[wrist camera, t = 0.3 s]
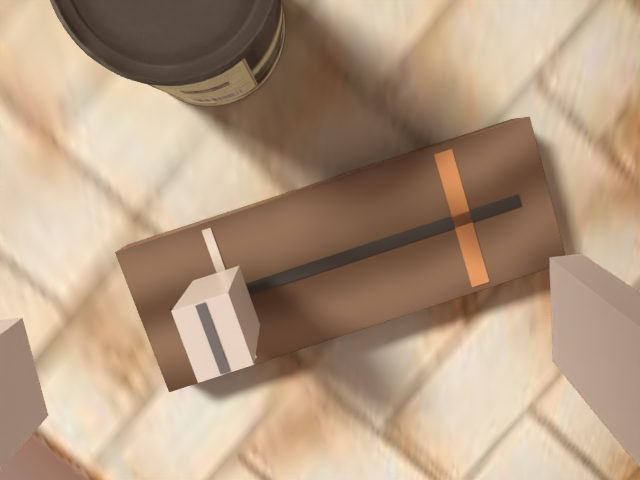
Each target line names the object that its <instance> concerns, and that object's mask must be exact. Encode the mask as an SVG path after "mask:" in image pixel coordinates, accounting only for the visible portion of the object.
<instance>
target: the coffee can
mask: <svg viewBox="0 0 640 480" xmlns="http://www.w3.org/2000/svg"><path fill="white" fill-rule="evenodd" d="M50 2H51V4H52V6H53V9H54V11H55V13H56V15H57V17H58V19H59V20H60V22H61V23H62V25H63V27H64V28H65V30H66V31H67V33H68V34H69V35H70V37H71V38H72V39H73V40H74V42H75V43H76V44H77V45H78V46H79V47H80V48H81V49H82V50H83V51H84V52H85V53H86V54H87V55H88V56H90V57H91V58H92V59H94V60H95V61H96V62H98V63H99V64H101V65H102V66H104V67H105V68H107V69H108V70H110V71H112V72H114V73H116V74H118V75H120V76H122V77H125V78H127V79H131V80H134V81H137V82H141V83H144V84H148V85H150V86H152V87H154V88H157V89H159V90H162V91H164V92H166V93H168V94H169V95H171V96H173V97H175V98H177V99H179V100H181V101H184V102H187V103H190V104H194V105H200V106H218V105H225V104H228V103H232V102H235V101H238V100H240V99H242V98H244V97H246V96H248V95H249V94H251V93H252V92H254V91H255V90H257V89H258V88H259V87H260V86H261V85H262V84H263V83H264V82H265V81H266V80H267V78H268V77H269V76H270V74H271V73H272V71H273V70H274V68H275V66H276V64H277V62H278V60H279V58H280V55H281V52H282V48H283V43H284V38H285V20H284V13H283V7H282V0H50Z"/></svg>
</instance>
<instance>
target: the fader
mask: <svg viewBox="0 0 640 480" xmlns="http://www.w3.org/2000/svg"><path fill="white" fill-rule="evenodd" d="M171 312H172V315H173V318H174V320H175V323H176V326H177V328H178V331H179V334H180V336H181V339H182V342H183V344H184V347H185V350H186V352H187V355H188V358H189V360H190V363H191V366H192V368H193V371H194V373H195V376H196V379H197V381H198V383H200V382H203V381H206V380H209V379H212V378H215V377H218V376H221V375H224V374H227V373H230V372H233V371H236V370H239V369H242V368H246V367H249V366H252V365H254V360H255V354H256V348H257V341H258V335H259V329H260V323H259V320H258V318H257V315H256V312H255V309H254V306H253V303H252V301H251V298H250V295H249V292H248V289H247V286H246V284H245V281H244V278H243V275H242V272H241V269H240V267H239V266H236V267H233V268H230V269H227V270H224V271H221V272H218V273H215V274H212V275H209V276H206V277H203V278H200V279H197V280H194V281H192V283H191V284H190V285H189V287H188V288H187V290H186V291H185V292H184V294H183V295H182V297H181V298H180V299H179V301H178V302H177V304H176V305H175V306H174V308H173V309H172V311H171Z"/></svg>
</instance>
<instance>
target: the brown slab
mask: <svg viewBox="0 0 640 480" xmlns="http://www.w3.org/2000/svg"><path fill="white" fill-rule="evenodd" d="M115 253H116V256H117V258H118V261H119V264H120V266H121V269H122V271H123V274H124V277H125V279H126V282H127V284H128V287H129V290H130V292H131V295H132V297H133V300H134V302H135V305H136V308H137V310H138V313H139V315H140V318H141V321H142V323H143V326H144V328H145V331H146V333H147V336H148V339H149V341H150V344H151V346H152V349H153V352H154V354H155V357H156V359H157V362H158V365H159V367H160V370H161V372H162V375H163V377H164V380H165V383H166V385H167V388H168V390H169V392H172V391H175V390H178V389H181V388H184V387H187V386H190V385H193V384H196V383H198V381H197V379H196V376H195V373H194V371H193V368H192V366H191V363H190V360H189V358H188V355H187V352H186V350H185V347H184V344H183V342H182V339H181V336H180V334H179V331H178V328H177V326H176V323H175V320H174V318H173V315H172V312H171V311H172V309H173V308H174V306H175V305H176V304H177V302H178V301H179V299H180V298H181V297H182V295H183V294H184V292H185V291H186V290H187V288H188V287H189V285H190V284H191V283H192V281H194V280H197V279H200V278H203V277H206V276H209V275H212V274H215V273H218V272H221V271H224V270H227V269H230V268H233V267H236V266H239V267H240V269H241V272H242V275H243V278H244V281H245V284H246V286H247V289H248V292H249V295H250V298H251V301H252V303H253V306H254V309H255V312H256V315H257V318H258V320H259V323H260V329H259V335H258V341H257V348H256V354H255V360H254V364H257V363H260V362H263V361H266V360H269V359H272V358H275V357H278V356H281V355H284V354H288V353H291V352H294V351H297V350H300V349H303V348H306V347H309V346H312V345H315V344H318V343H321V342H324V341H327V340H330V339H333V338H336V337H339V336H342V335H345V334H349V333H352V332H355V331H358V330H361V329H364V328H367V327H370V326H373V325H376V324H379V323H382V322H385V321H388V320H391V319H394V318H397V317H400V316H403V315H406V314H410V313H413V312H416V311H419V310H422V309H425V308H428V307H431V306H434V305H437V304H440V303H443V302H446V301H449V300H452V299H455V298H458V297H461V296H464V295H467V294H471V293H474V292H477V291H480V290H483V289H486V288H489V287H492V286H495V285H498V284H501V283H504V282H507V281H510V280H513V279H516V278H519V277H522V276H525V275H528V274H532V273H535V272H538V271H541V270H544V269H547V268H550V258H549V257H557V256H565V252H564V248H563V244H562V240H561V236H560V233H559V229H558V225H557V221H556V217H555V213H554V209H553V205H552V201H551V198H550V194H549V190H548V186H547V182H546V178H545V174H544V170H543V167H542V163H541V159H540V155H539V151H538V147H537V143H536V139H535V136H534V132H533V128H532V124H531V120H530V117H524V118H516V119H511V120H508V121H505V122H502V123H499V124H496V125H492V126H489V127H486V128H483V129H480V130H477V131H474V132H471V133H468V134H465V135H462V136H459V137H456V138H453V139H450V140H447V141H444V142H440V143H437V144H434V145H431V146H428V147H425V148H422V149H419V150H416V151H413V152H410V153H407V154H404V155H401V156H398V157H395V158H392V159H389V160H385V161H382V162H379V163H376V164H373V165H370V166H367V167H364V168H361V169H358V170H355V171H352V172H349V173H346V174H343V175H340V176H337V177H333V178H330V179H327V180H324V181H321V182H318V183H315V184H312V185H309V186H306V187H303V188H300V189H297V190H294V191H291V192H288V193H285V194H281V195H278V196H275V197H272V198H269V199H266V200H263V201H260V202H257V203H254V204H251V205H248V206H245V207H242V208H239V209H236V210H233V211H229V212H226V213H223V214H220V215H217V216H214V217H211V218H208V219H205V220H202V221H199V222H196V223H193V224H190V225H187V226H184V227H181V228H178V229H174V230H171V231H168V232H165V233H162V234H159V235H156V236H153V237H150V238H147V239H144V240H141V241H138V242H135V243H132V244H129V245H126V246H125V247H123V248H121V249H120V250H118V251H117V252H115Z"/></svg>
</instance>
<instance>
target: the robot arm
mask: <svg viewBox="0 0 640 480" xmlns="http://www.w3.org/2000/svg"><path fill="white" fill-rule="evenodd" d="M549 258H550V291H551V324H552V357H553V362H554V364H555V365H556V366H557V367H558V368H559V370H560V371H561V372H562V373H563V375H564V376H565V377H566V378H567V379H568V381H569V382H570V383H571V384H572V386H573V387H574V388H575V389H576V391H577V392H578V393H579V394H580V395H581V397H582V398H583V399H584V400H585V402H586V403H587V404H588V405H589V406H590V408H591V409H592V410H593V411H594V413H595V414H596V415H597V416H598V417H599V419H600V420H601V421H602V422H603V424H604V425H605V426H606V427H607V429H608V430H609V431H610V432H611V433H612V435H613V436H614V437H615V438H616V440H617V441H618V442H619V443H620V444H621V446H622V447H623V448H624V449H625V451H626V452H627V453H628V454H629V456H630V457H631V458H632V459H633V460H634V462H635V463H636V464H637V465H638V467H639V468H640V292H638V291H637V290H635V289H634V288H632V287H631V286H629V285H628V284H626V283H625V282H623V281H622V280H620V279H619V278H617V277H616V276H614V275H613V274H611V273H610V272H608V271H607V270H605V269H604V268H602V267H601V266H599V265H598V264H596V263H595V262H593V261H592V260H590V259H589V258H587V257H586V256H584V255H583V254H575V255H566V256H557V257H549ZM47 416H48V413H47V409H46V405H45V401H44V398H43V394H42V390H41V386H40V383H39V379H38V375H37V371H36V367H35V364H34V360H33V356H32V352H31V349H30V345H29V341H28V337H27V334H26V330H25V326H24V322H23V318H16V319H8V320H0V472H1V471H2V470H3V468H4V467H5V466H6V465H7V463H8V462H9V461H10V460H11V459H12V458H13V457H14V455H15V454H16V453H17V452H18V451H19V449H20V448H21V447H22V446H23V445H24V444H25V442H26V441H27V440H28V439H29V437H30V436H31V435H32V434H33V433H34V432H35V430H36V429H37V428H38V427H39V426H40V425H41V423H42V422H43V421H44V420H45V419H46V417H47Z"/></svg>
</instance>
